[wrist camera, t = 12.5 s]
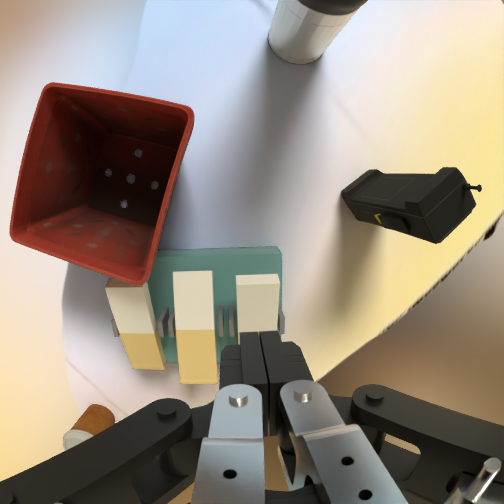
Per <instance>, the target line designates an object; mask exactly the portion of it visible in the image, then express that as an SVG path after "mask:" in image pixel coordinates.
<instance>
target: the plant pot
mask: <svg viewBox="0 0 504 504" xmlns="http://www.w3.org/2000/svg"><path fill="white" fill-rule="evenodd" d="M193 126H194V112H193V110H192V109H191V108H190V107H188V106H186V105H182V104H177V103H173V102H169V101H165V100H160V99H155V98H150V97H145V96H140V95H134V94H129V93H123V92H118V91H112V90H105V89H98V88H92V87H85V86H78V85H70V84H62V83H54V82H52V83H49V84H47V85H46V86H45V87H44V88H43V90H42V93H41V96H40V98H39V101H38V104H37V108H36V111H35V114H34V117H33V121H32V124H31V127H30V130H29V134H28V138H27V141H26V145H25V149H24V153H23V158H22V162H21V166H20V171H19V176H18V181H17V186H16V191H15V197H14V203H13V208H12V215H11V223H10V236H11V238H12V240H13V241H14V242H16V243H19V244H22V245H24V246H27V247H29V248H32V249H35V250H38V251H40V252H43V253H46V254H48V255H51V256H54V257H57V258H59V259H62V260H65V261H67V262H70V263H73V264H76V265H79V266H81V267H84V268H87V269H90V270H93V271H96V272H98V273H101V274H104V275H107V276H110V277H112V278H115V279H118V280H121V281H124V282H127V283H130V284H133V285H136V286H140V285H143V284H145V283H146V282H147V281H148V279H149V276H150V274H151V272H152V269H153V266H154V262H155V259H156V255H157V250H158V246H159V242H160V238H161V233H162V229H163V225H164V221H165V217H166V213H167V210H168V206H169V202H170V199H171V195H172V192H173V188H174V185H175V182H176V178H177V175H178V172H179V169H180V166H181V163H182V160H183V157H184V154H185V151H186V148H187V145H188V142H189V140H190V137H191V134H192V130H193ZM137 149H140V150H141V151H142V156H141V157H140V158H136V157H135V156H134V152H135V151H136V150H137ZM107 168H109V169H110V170H111V171H112V175H111V176H110V177H106V176H105V174H104V172H105V170H106V169H107ZM128 174H133V175H134V176H135V182H134V183H132V184H129V183H127V181H126V177H127V175H128ZM152 181H157V182H158V184H159V186H158V188H157V189H156V190H153V189H151V188H150V183H151V182H152ZM123 199H125V200H127V203H128V206H127V207H126V208H122V207H121V205H120V202H121V200H123Z"/></svg>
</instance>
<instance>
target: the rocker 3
mask: <svg viewBox="0 0 504 504" xmlns="http://www.w3.org/2000/svg"><path fill="white" fill-rule="evenodd" d="M279 291H280V281H279V277H278V274H259V275H236V293H237V321H238V345H240V334H239V332H257V331H258V334H259V331H274V330H277V322H278V307H279Z"/></svg>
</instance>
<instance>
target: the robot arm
mask: <svg viewBox="0 0 504 504" xmlns="http://www.w3.org/2000/svg"><path fill="white" fill-rule="evenodd" d="M367 1H368V0H278V4H277V7H276V11H275V14H274V17H273V21H272V24H271V27H270V31H269V35H268V38H269V44H270V46H271V48H272V50H273V51H274V52H275V53H276V55H278V56H279V57H280V58H282V59H284V60H285V61H288V62H291V63H295V64H307V63H311V62H313V61H315V60H317V59H318V58H319V57H320V56H321V55H322V53H323V52H324V51H325V50H326V48H327V47H328V46H329V45H330V44H331V42H332V41H333V40H334V38H335V37H336V36H337V35H338V33H339V32H340V31H341V30H342V28H343V27H344V26H345V25H346V24H347V22H348V21H349V20H350V19H351V17H352V16H353V15H354V14H355V12H356V11H357V10H358V9H359V7H360V6H362V5H363V4H364V3H366V2H367ZM239 334H240V345H226V346H225V347H224V349H223V350H222V351H221V358H220V386H219V391H218V392H217V393H216V396H215V400H214V401H212V402H211V403H209V404H207V405H204V406H201V407H197V408H192V409H190V407H189V405H188V404H186V403H185V402H183V401H181V400H178V399H173V398H165V399H160V400H156V401H154V402H152V403H150V404H149V405H147V406H145V407H143V408H142V409H140V410H138V411H137V412H135V413H133V414H132V415H130V416H128V417H126V418H125V419H123V420H121V421H119V422H118V423H116V424H114V425H112V426H111V427H109V428H107V429H105V430H103V431H102V432H100V433H98V434H96V435H94V436H92V437H91V438H89V439H87V440H85V441H83V442H81V443H79V444H77V445H76V446H74V447H72V448H70V449H68V450H66V451H64V452H62V453H60V454H58V455H56V456H54V457H52V458H50V459H49V460H46V461H44V462H42V463H40V464H38V465H36V466H34V467H32V468H29V469H27V470H25V471H23V472H21V473H19V474H17V475H14V476H12V477H10V478H8V479H6V480H3V481H1V482H0V504H167V503H168V502H169V501H171V500H172V499H173V498H175V497H176V496H177V495H179V494H180V493H181V492H182V491H184V490H185V489H186V488H187V487H188V486H190V485H191V484H192V483H193V482H194V487H193V493H192V498H191V502H190V503H188V504H504V426H502V425H499V424H495V423H491V422H488V421H485V420H482V419H478V418H475V417H472V416H468V415H465V414H462V413H459V412H456V411H453V410H450V409H447V408H444V407H441V406H438V405H435V404H432V403H429V402H426V401H423V400H420V399H418V398H414V397H412V396H409V395H406V394H403V393H401V392H398V391H396V390H393V389H390V388H388V387H385V386H381V385H376V384H370V385H364V386H361V387H359V388H357V389H356V390H355V391H354V393H353V396H352V397H339V396H332V395H329V394H327V392H326V391H325V389H324V388H323V387H322V386H321V385H320V384H318V383H316V382H314V380H313V378H312V375H311V373H310V370H309V368H308V366H307V363H306V361H305V358H304V356H303V354H302V351H301V349H300V347H299V346H297V345H296V344H295V343H293V342H292V341H291V342H282V341H281V338H280V335H279V332H278V330H274V331H259V334H258V331H257V332H239ZM267 429H268V430H269V436H274V435H277V438H278V455H279V458H280V461H281V465H282V468H283V471H284V474H285V478H286V481H287V484H288V488H289V492H284V491H272V490H265V483H264V436H267V435H268V433H267V432H268V431H267ZM386 433H387V434H389V435H391V436H394V437H396V438H399V439H401V440H404V441H406V442H408V443H411V444H413V445H415V446H417V447H418V448H419V450H420V452H421V454H416V453H413V452H410V451H408V450H406V449H403V448H401V447H398V446H396V445H394V444H391V443H389V442H387V441H384V439H385V436H386Z"/></svg>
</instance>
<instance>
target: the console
mask: <svg viewBox="0 0 504 504" xmlns="http://www.w3.org/2000/svg"><path fill="white" fill-rule="evenodd" d="M180 271H213V290H214V312H215V332H216V349H217V363H220V358H221V351H222V350H223V349H224V347H225V346H226V345H238V321H237V293H236V275H259V274H278V277H279V281H280V291H279V307H278V322H277V330H278V332H279V335H280V338H281V334H284V328H285V317H284V314H283V312H282V253H281V251H280V250H279V249H278V247H277V246H271V247H241V248H211V249H183V250H157V255H156V259H155V262H154V266H153V269H152V272H151V274H150V276H149V279H148V281H147V284H148V289H149V293H150V298H151V302H152V307H153V311H154V315H155V319H156V323H157V327H158V331H159V336H160V339H161V343H162V347H163V351H164V354H165V358H166V363H178V351H177V338H176V324H175V308H174V288H173V272H180ZM112 326H113V331H114V336H115V337H119V335H120V334H119V331H118V328H117V325H116V322H115V319H114V318H113V320H112Z"/></svg>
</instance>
